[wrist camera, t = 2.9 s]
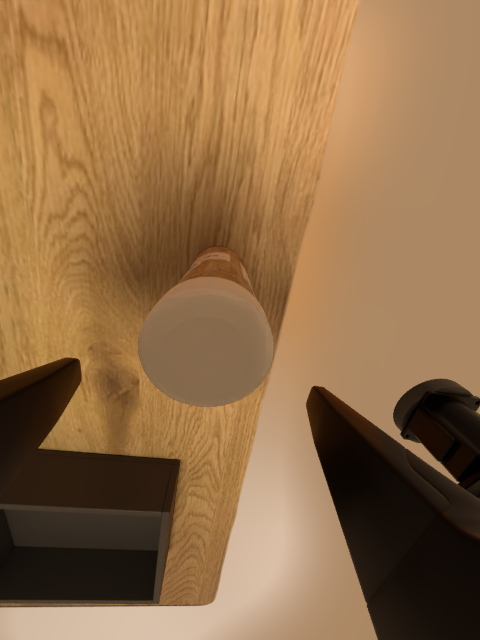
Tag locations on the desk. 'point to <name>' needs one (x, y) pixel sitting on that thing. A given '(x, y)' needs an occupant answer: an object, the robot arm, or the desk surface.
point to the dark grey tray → (87, 529)
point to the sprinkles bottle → (208, 334)
